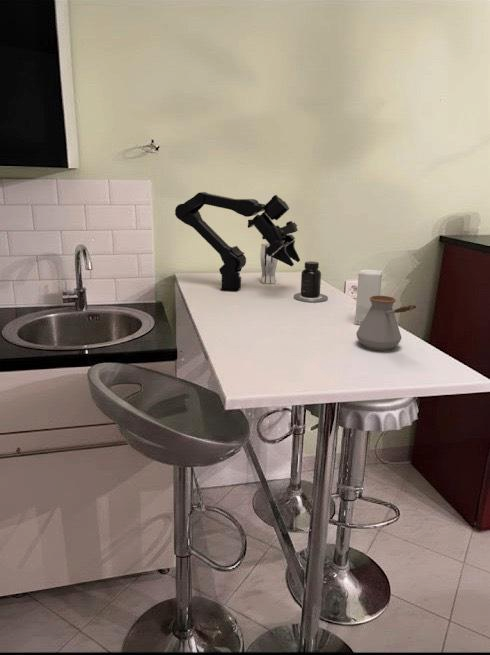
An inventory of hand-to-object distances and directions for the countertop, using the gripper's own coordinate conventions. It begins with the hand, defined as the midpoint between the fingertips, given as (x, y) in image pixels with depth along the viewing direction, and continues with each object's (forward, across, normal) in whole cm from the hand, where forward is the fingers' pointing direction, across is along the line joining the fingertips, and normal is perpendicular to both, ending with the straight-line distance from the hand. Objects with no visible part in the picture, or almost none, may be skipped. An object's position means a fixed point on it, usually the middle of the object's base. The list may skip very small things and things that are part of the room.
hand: (296, 263), depth 180 cm
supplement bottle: (+12, 0, +4) cm, 13 cm away
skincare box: (+28, -22, -11) cm, 37 cm away
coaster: (+13, 0, +4) cm, 13 cm away
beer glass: (-2, +18, +19) cm, 26 cm away
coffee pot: (+34, -47, -17) cm, 60 cm away
